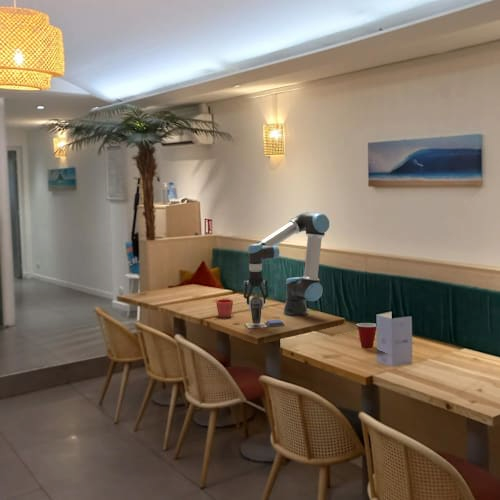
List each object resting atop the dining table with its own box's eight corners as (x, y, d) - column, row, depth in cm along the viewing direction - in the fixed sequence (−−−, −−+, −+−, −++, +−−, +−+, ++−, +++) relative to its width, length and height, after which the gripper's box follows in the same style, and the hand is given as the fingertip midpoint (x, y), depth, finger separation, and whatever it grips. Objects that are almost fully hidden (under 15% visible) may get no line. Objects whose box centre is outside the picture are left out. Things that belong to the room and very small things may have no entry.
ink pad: (280, 322, 379) (280, 319, 378) (284, 325, 370) (284, 322, 370) (265, 323, 377) (265, 320, 377) (269, 326, 368) (269, 323, 368)
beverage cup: (262, 321, 374) (261, 287, 371) (262, 323, 366) (262, 290, 364) (250, 321, 373) (249, 288, 371) (250, 324, 366) (249, 290, 364)
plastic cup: (376, 344, 327) (376, 321, 326) (378, 349, 317) (379, 326, 315) (355, 343, 328) (355, 321, 327) (356, 349, 318) (357, 326, 316)
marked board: (264, 323, 377) (264, 322, 377) (268, 327, 365) (268, 326, 365) (244, 324, 375) (244, 323, 375) (248, 329, 363) (248, 328, 363)
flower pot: (236, 315, 400) (236, 300, 399) (226, 318, 391) (226, 303, 390) (222, 313, 406) (222, 298, 405) (213, 316, 397) (212, 301, 396)
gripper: (270, 268, 372) (271, 307, 375) (237, 270, 368) (238, 309, 371) (273, 270, 365) (274, 309, 367) (239, 272, 361) (240, 311, 363)
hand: (256, 309), depth 369 cm, fingers closed on beverage cup, 7 cm apart
